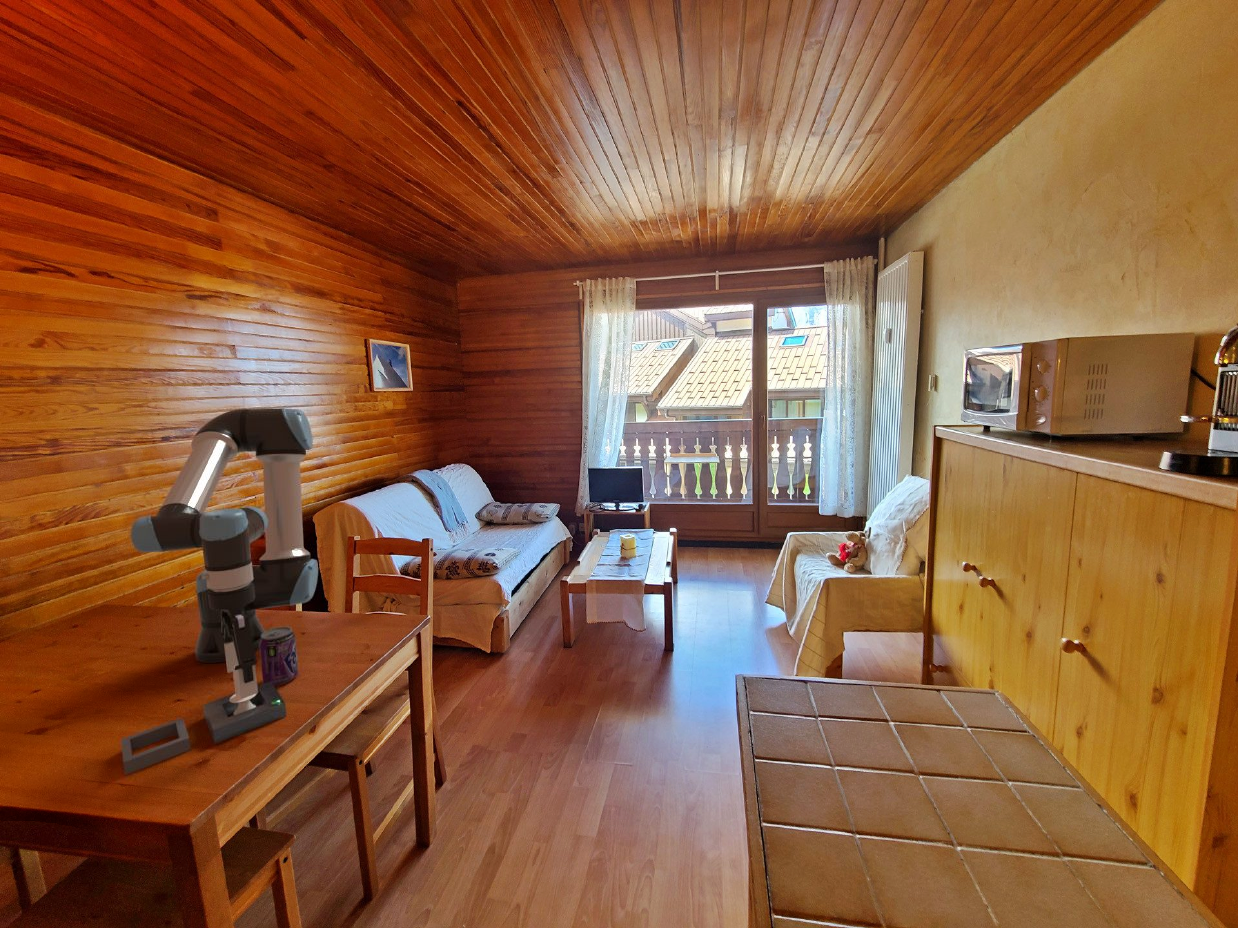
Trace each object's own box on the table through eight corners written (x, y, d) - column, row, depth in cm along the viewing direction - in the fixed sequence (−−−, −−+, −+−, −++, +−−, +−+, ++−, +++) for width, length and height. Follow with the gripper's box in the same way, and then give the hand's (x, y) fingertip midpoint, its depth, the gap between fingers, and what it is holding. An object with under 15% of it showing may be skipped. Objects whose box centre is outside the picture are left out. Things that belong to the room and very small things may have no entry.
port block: (204, 717, 106) (202, 702, 106) (271, 693, 115) (270, 679, 115) (215, 744, 98) (213, 727, 98) (286, 715, 107) (285, 700, 106)
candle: (224, 726, 103) (218, 671, 102) (238, 710, 109) (232, 658, 107) (253, 723, 105) (247, 668, 103) (266, 707, 110) (260, 655, 108)
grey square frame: (122, 751, 96) (120, 739, 96) (184, 728, 103) (182, 717, 102) (125, 775, 90) (123, 762, 90) (190, 749, 97) (189, 737, 96)
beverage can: (281, 689, 116) (276, 640, 115) (255, 686, 118) (250, 637, 116) (305, 673, 123) (301, 626, 122) (281, 670, 125) (276, 624, 123)
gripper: (197, 575, 109) (209, 666, 112) (219, 608, 92) (232, 716, 95) (240, 566, 114) (250, 654, 117) (268, 596, 97) (279, 698, 100)
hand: (242, 682), depth 106 cm, fingers open, 13 cm apart
